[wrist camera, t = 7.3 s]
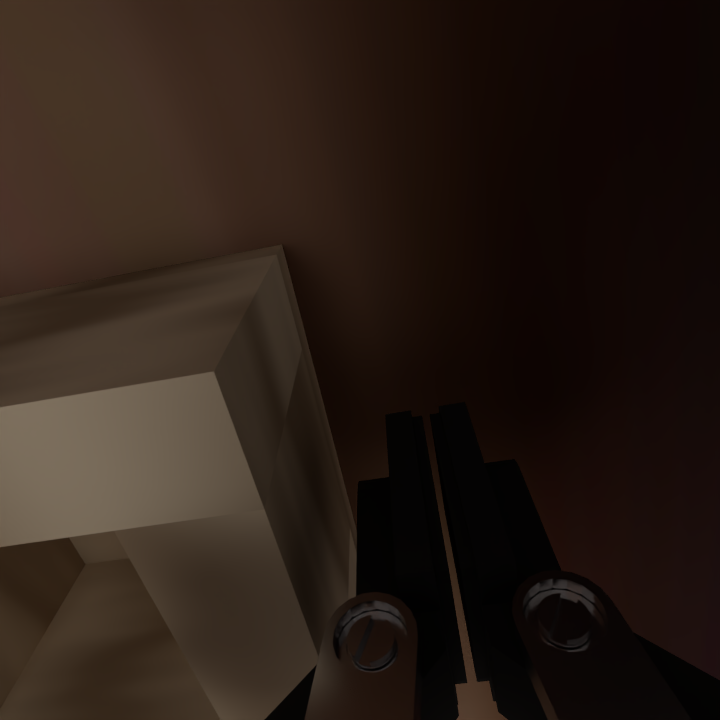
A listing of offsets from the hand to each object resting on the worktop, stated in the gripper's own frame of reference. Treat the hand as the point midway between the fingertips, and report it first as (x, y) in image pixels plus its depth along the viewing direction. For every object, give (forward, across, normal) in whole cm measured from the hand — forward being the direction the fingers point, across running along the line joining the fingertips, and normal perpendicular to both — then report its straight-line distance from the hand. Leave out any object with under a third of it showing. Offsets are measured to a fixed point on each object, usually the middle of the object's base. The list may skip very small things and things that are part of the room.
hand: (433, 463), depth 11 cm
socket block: (+3, +8, 0) cm, 8 cm away
